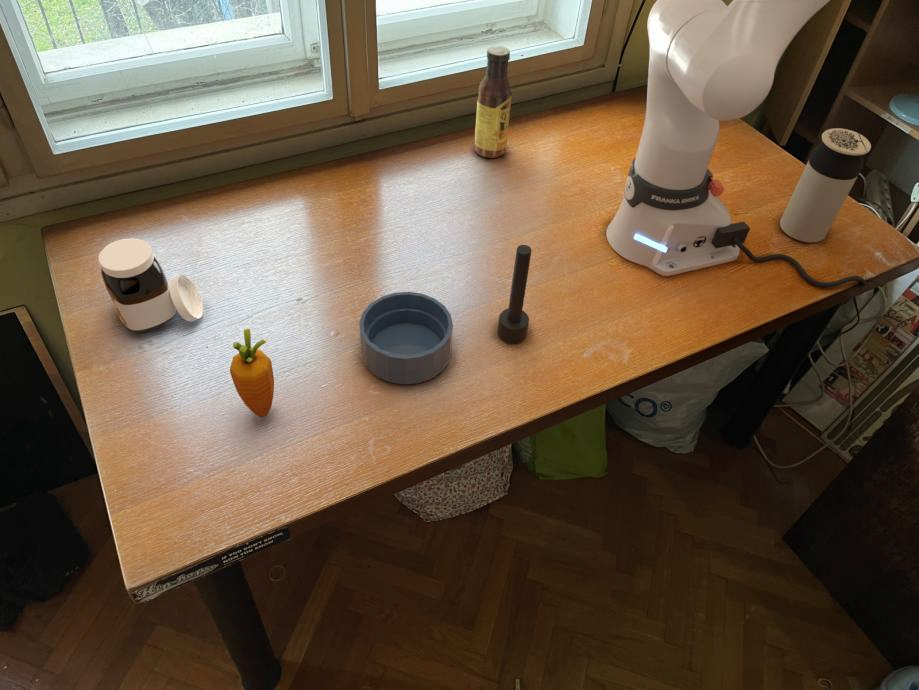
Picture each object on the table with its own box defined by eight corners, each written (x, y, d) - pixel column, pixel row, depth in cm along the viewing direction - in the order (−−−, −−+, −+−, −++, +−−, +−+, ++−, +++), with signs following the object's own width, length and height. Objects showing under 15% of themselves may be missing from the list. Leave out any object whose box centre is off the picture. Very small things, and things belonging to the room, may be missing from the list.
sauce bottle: (502, 162, 138) (513, 62, 124) (470, 157, 139) (477, 57, 124) (508, 144, 143) (518, 45, 128) (477, 139, 143) (484, 40, 129)
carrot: (257, 396, 97) (237, 318, 86) (289, 408, 96) (273, 330, 85) (236, 423, 94) (212, 345, 83) (268, 436, 93) (249, 359, 82)
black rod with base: (523, 321, 109) (536, 237, 97) (529, 342, 106) (544, 259, 94) (494, 324, 109) (504, 239, 97) (500, 345, 106) (511, 261, 94)
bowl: (444, 317, 109) (445, 288, 105) (457, 382, 100) (459, 353, 96) (359, 324, 107) (356, 295, 103) (365, 391, 99) (363, 362, 94)
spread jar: (110, 305, 107) (83, 244, 99) (183, 276, 112) (164, 216, 104) (140, 354, 101) (114, 293, 93) (216, 321, 106) (198, 261, 98)
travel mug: (779, 238, 126) (822, 148, 113) (778, 212, 131) (819, 123, 118) (826, 248, 125) (875, 158, 112) (823, 221, 130) (870, 132, 117)
